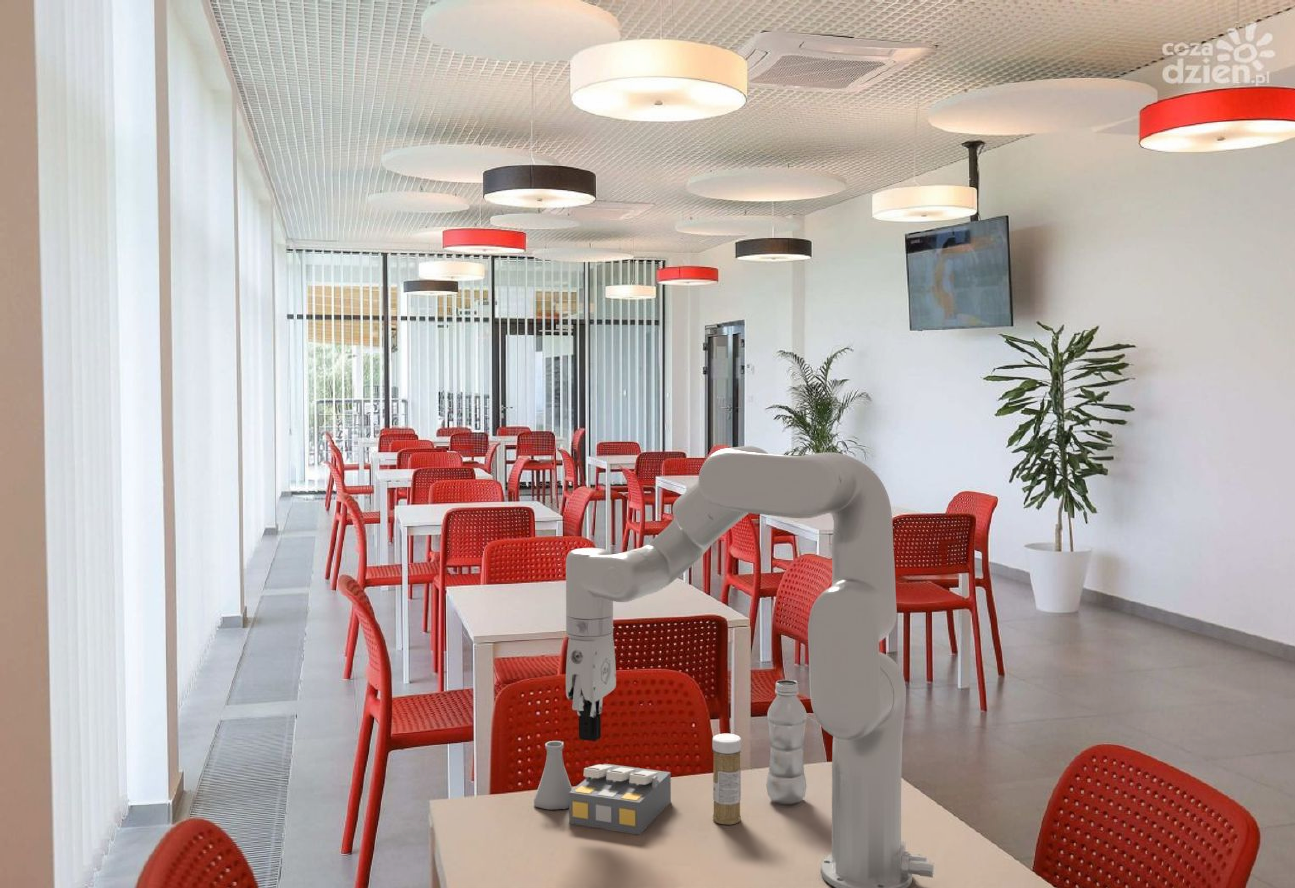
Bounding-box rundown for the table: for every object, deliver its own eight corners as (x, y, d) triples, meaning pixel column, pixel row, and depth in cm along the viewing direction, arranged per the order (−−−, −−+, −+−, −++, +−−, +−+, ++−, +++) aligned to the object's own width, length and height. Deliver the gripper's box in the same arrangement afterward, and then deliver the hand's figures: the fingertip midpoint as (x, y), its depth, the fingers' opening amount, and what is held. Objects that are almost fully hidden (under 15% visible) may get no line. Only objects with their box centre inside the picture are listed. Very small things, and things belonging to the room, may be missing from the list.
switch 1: (612, 773, 173) (613, 765, 174) (598, 778, 168) (598, 769, 168) (598, 771, 174) (598, 763, 175) (583, 776, 169) (584, 767, 169)
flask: (569, 813, 170) (569, 752, 170) (527, 809, 172) (526, 749, 171) (581, 796, 177) (581, 738, 177) (540, 793, 179) (540, 735, 178)
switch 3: (657, 779, 170) (658, 771, 171) (644, 784, 165) (645, 775, 165) (642, 777, 171) (643, 769, 172) (629, 782, 166) (629, 773, 166)
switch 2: (635, 776, 172) (635, 768, 172) (621, 781, 166) (621, 772, 167) (620, 774, 173) (621, 766, 173) (606, 779, 167) (606, 770, 168)
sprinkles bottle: (715, 813, 169) (714, 731, 169) (743, 815, 168) (743, 733, 168) (710, 824, 165) (710, 740, 164) (739, 827, 164) (739, 742, 163)
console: (671, 801, 174) (670, 762, 174) (639, 835, 161) (639, 792, 161) (604, 792, 179) (604, 754, 178) (568, 823, 165) (568, 782, 165)
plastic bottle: (759, 798, 176) (758, 680, 175) (793, 791, 179) (793, 675, 178) (779, 811, 170) (779, 690, 169) (814, 804, 173) (814, 685, 172)
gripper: (591, 638, 159) (592, 756, 160) (629, 618, 173) (629, 728, 174) (547, 634, 162) (547, 750, 163) (587, 615, 176) (587, 722, 177)
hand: (589, 738), depth 168 cm, fingers closed
